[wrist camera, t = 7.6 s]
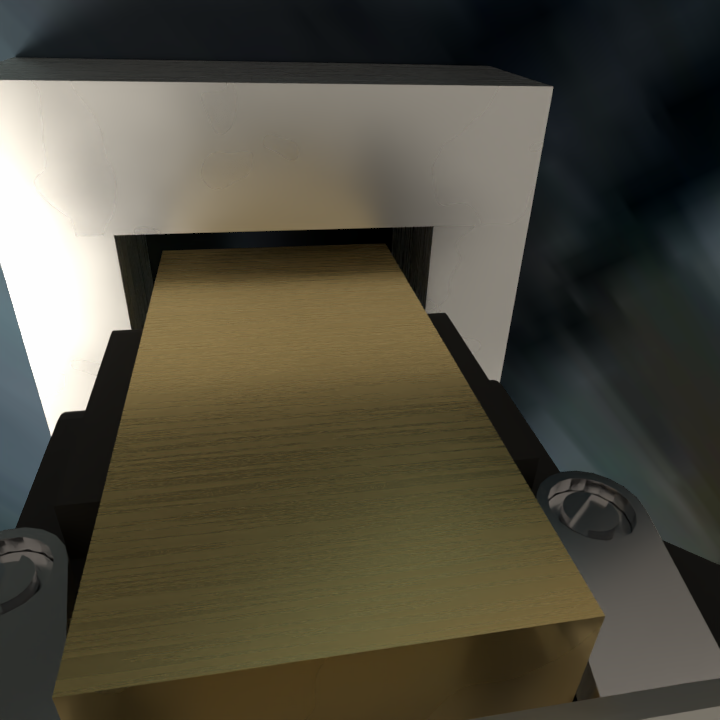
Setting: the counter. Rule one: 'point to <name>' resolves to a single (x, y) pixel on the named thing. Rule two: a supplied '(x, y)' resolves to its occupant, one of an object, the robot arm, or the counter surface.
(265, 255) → the wooden block
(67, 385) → the board with square holes
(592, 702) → the robot arm
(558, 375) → the counter surface
